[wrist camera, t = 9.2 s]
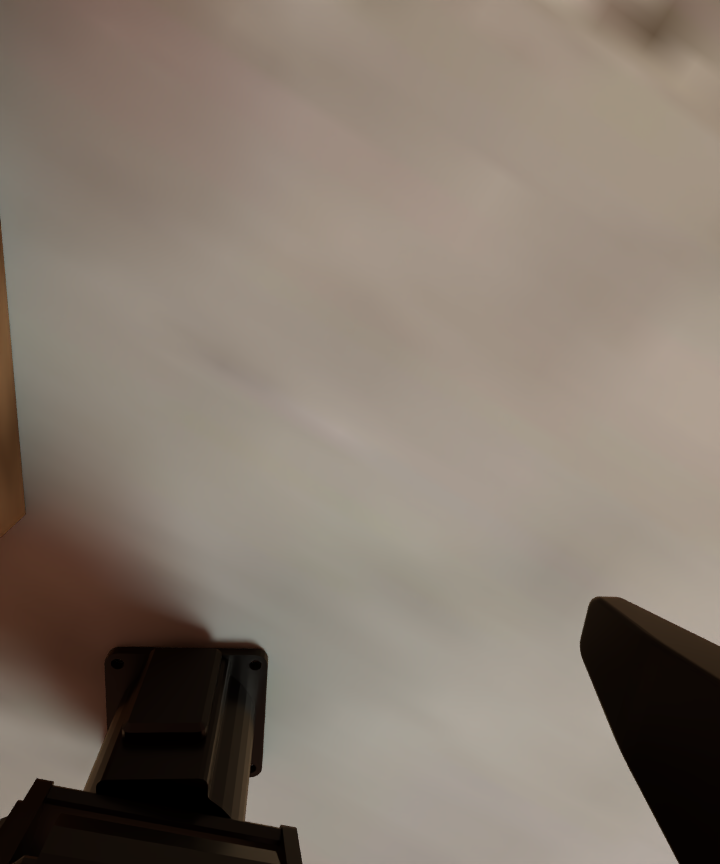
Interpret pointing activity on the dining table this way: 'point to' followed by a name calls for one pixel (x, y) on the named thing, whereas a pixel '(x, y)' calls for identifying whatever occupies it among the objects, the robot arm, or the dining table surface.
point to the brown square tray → (8, 422)
